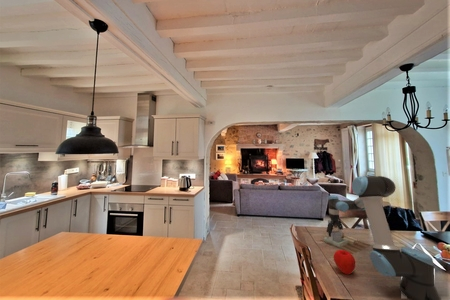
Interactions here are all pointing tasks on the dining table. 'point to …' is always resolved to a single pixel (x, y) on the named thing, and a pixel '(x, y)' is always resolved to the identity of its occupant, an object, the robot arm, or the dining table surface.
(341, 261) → the apple
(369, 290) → the dining table surface
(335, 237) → the medicine box
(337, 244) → the tray
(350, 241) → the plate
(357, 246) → the bench board
